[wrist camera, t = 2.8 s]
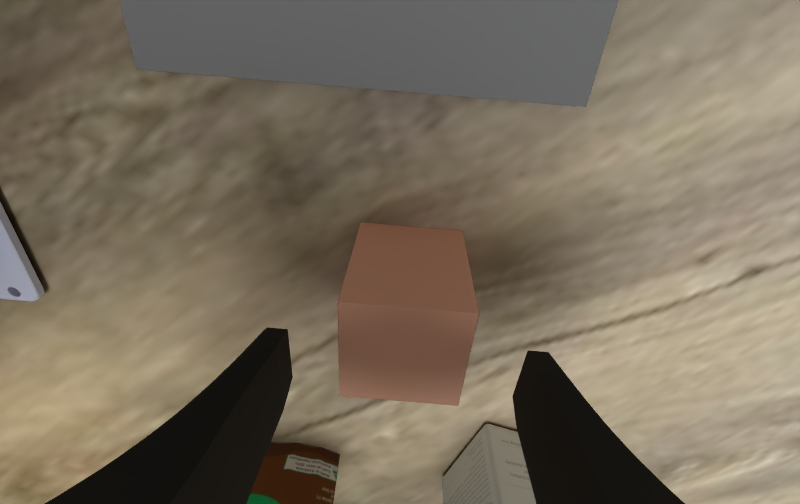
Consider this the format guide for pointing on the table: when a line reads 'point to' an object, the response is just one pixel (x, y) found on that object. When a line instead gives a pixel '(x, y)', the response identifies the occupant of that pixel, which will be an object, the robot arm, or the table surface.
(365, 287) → the block
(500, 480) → the product box
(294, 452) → the food container
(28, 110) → the table surface
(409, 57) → the mat
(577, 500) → the robot arm
